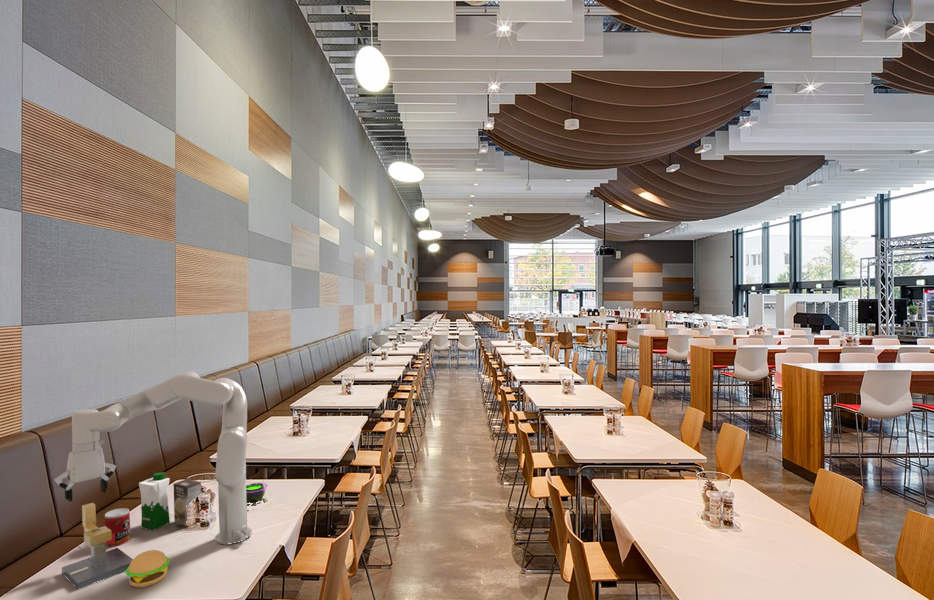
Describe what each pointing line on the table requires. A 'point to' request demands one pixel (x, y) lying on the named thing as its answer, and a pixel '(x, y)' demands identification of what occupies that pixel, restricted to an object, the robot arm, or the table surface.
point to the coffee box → (184, 498)
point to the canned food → (118, 526)
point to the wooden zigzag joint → (93, 527)
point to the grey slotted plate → (97, 566)
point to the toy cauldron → (255, 493)
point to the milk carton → (155, 501)
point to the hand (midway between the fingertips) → (86, 496)
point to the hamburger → (147, 568)
